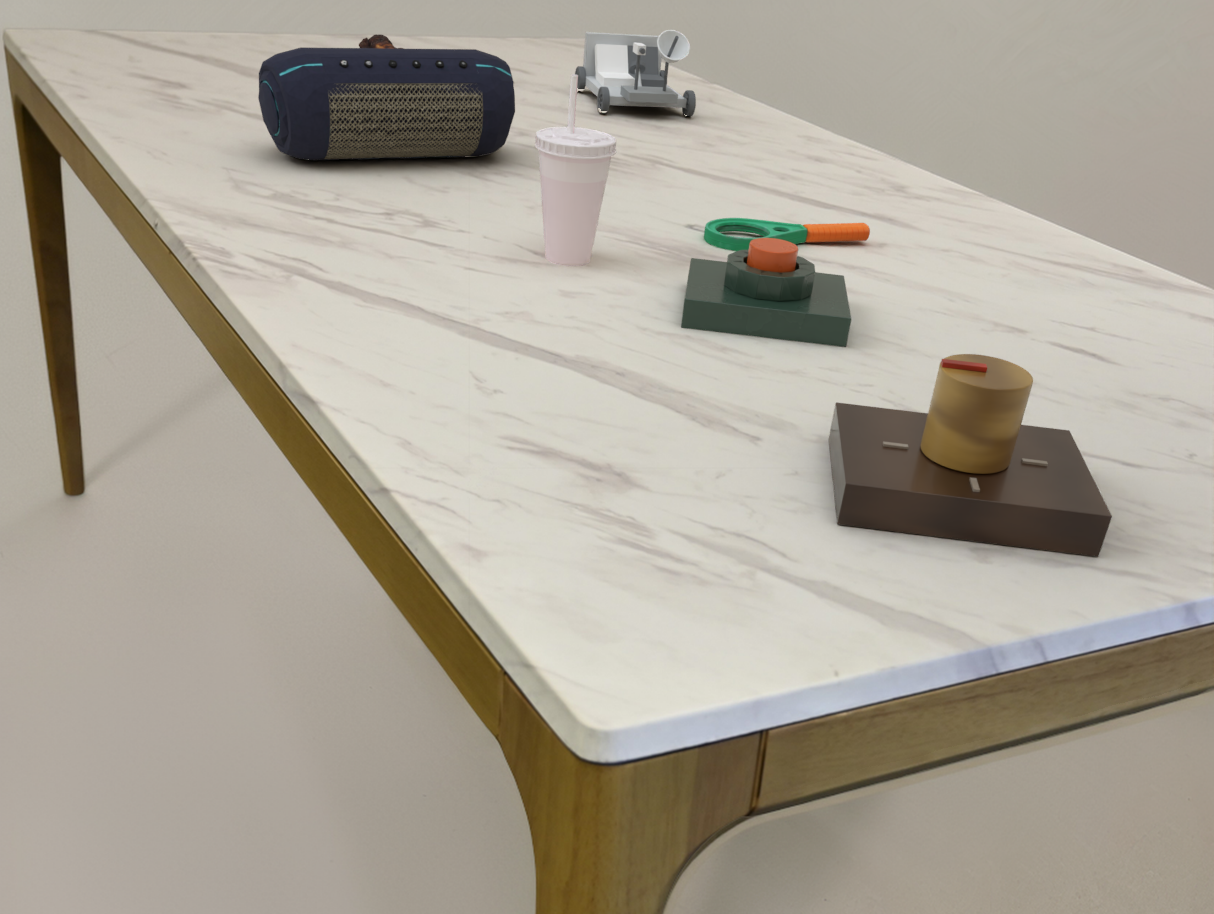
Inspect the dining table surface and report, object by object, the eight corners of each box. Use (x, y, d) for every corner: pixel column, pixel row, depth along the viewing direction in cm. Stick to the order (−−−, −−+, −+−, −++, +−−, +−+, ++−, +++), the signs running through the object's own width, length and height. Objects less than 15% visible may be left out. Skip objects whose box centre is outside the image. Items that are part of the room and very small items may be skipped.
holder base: (1058, 467, 77) (1070, 427, 75) (1098, 557, 68) (1113, 513, 66) (828, 439, 78) (836, 399, 76) (837, 524, 68) (846, 480, 67)
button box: (838, 302, 100) (848, 252, 98) (845, 347, 91) (856, 293, 89) (687, 284, 100) (693, 234, 98) (680, 328, 92) (687, 274, 90)
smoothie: (560, 241, 107) (571, 64, 99) (622, 260, 104) (639, 79, 97) (512, 257, 102) (520, 72, 95) (576, 277, 99) (589, 88, 92)
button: (794, 263, 95) (798, 240, 94) (795, 278, 92) (799, 254, 91) (746, 258, 95) (749, 235, 95) (746, 273, 92) (749, 249, 91)
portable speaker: (278, 174, 117) (272, 58, 112) (254, 147, 125) (247, 37, 119) (528, 167, 127) (534, 60, 122) (493, 142, 135) (496, 41, 129)
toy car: (711, 35, 146) (614, 30, 143) (700, 124, 151) (607, 121, 148) (667, 10, 161) (579, 5, 158) (659, 92, 166) (573, 89, 163)
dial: (1002, 441, 73) (1026, 354, 70) (1016, 479, 69) (1043, 388, 66) (915, 430, 73) (936, 343, 71) (925, 468, 69) (947, 377, 66)
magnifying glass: (716, 252, 108) (718, 232, 107) (694, 231, 113) (696, 212, 112) (877, 253, 112) (881, 234, 111) (849, 232, 117) (853, 214, 116)
